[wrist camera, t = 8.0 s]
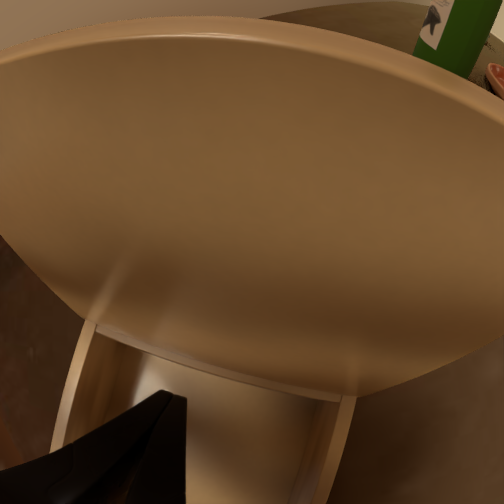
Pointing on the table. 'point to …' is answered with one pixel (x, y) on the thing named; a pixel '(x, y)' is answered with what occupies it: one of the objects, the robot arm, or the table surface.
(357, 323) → the chest lid
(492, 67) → the saucer
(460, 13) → the wine bottle
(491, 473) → the table surface
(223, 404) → the chest
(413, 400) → the table surface
